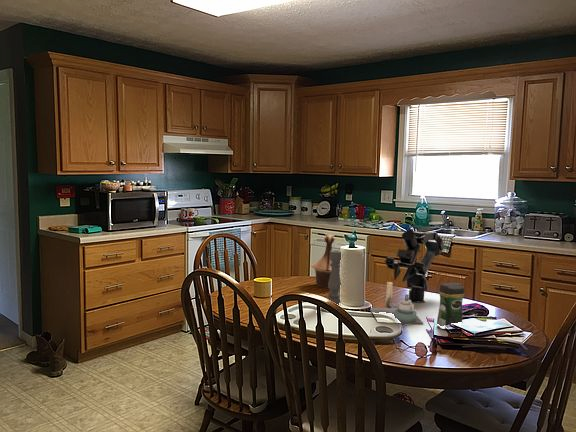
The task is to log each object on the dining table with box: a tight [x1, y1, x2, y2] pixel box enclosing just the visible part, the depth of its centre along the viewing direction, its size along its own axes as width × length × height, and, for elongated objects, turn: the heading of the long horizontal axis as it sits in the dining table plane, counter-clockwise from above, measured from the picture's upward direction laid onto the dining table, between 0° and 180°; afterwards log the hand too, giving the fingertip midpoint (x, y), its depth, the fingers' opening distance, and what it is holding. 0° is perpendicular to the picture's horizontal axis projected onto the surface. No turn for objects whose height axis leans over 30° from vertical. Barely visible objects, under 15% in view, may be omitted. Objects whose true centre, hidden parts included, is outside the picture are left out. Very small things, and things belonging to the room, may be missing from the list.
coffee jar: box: [436, 282, 465, 326], centre depth 200 cm, size 10×8×19 cm
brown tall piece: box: [310, 233, 336, 289], centre depth 261 cm, size 18×17×28 cm
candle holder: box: [326, 249, 342, 305], centre depth 227 cm, size 6×6×25 cm
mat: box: [369, 307, 424, 325], centre depth 214 cm, size 19×19×1 cm
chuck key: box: [385, 281, 415, 314], centre depth 211 cm, size 14×6×11 cm, turn 33°
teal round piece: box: [394, 308, 417, 322], centre depth 208 cm, size 9×9×4 cm
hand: (398, 280), depth 222 cm, fingers open, 4 cm apart
